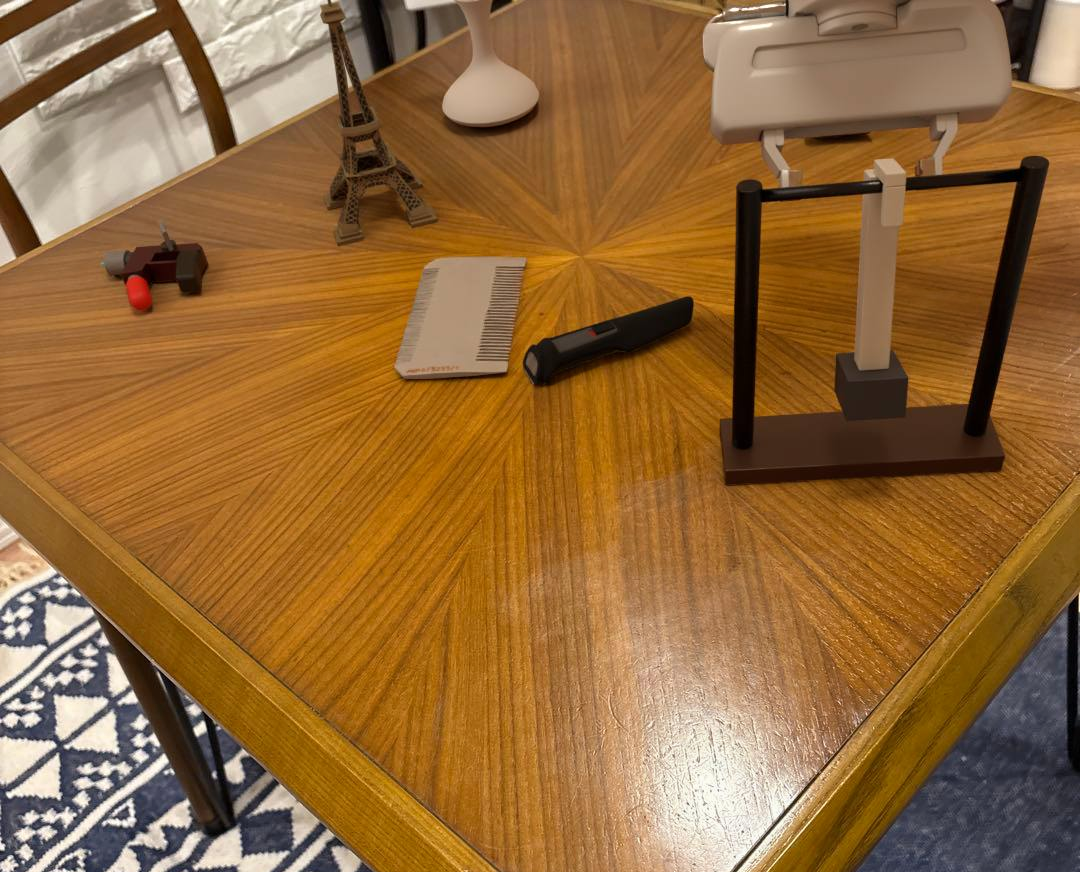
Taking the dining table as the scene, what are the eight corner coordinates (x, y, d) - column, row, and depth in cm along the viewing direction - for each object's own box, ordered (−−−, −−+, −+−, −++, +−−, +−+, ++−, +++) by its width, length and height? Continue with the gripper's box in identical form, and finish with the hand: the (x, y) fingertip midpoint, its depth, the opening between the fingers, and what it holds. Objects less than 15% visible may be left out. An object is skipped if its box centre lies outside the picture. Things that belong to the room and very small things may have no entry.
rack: (982, 417, 85) (1047, 135, 68) (1001, 470, 81) (1076, 184, 64) (719, 432, 87) (721, 163, 70) (725, 485, 83) (728, 212, 66)
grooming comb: (507, 376, 94) (506, 369, 94) (392, 381, 96) (390, 374, 95) (527, 259, 107) (526, 252, 106) (425, 264, 109) (424, 258, 108)
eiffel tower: (417, 175, 121) (366, -71, 103) (437, 221, 114) (386, -35, 96) (324, 198, 120) (256, -47, 102) (338, 245, 113) (267, -9, 95)
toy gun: (110, 265, 115) (91, 224, 112) (219, 258, 114) (204, 216, 110) (77, 320, 109) (56, 278, 105) (193, 313, 107) (175, 270, 104)
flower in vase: (550, 91, 132) (524, -145, 114) (528, 137, 125) (496, -108, 107) (447, 92, 135) (406, -138, 117) (419, 137, 128) (371, -101, 110)
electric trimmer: (702, 337, 96) (702, 306, 94) (536, 390, 93) (532, 360, 91) (682, 315, 98) (682, 285, 96) (521, 366, 96) (517, 336, 93)
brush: (834, 391, 80) (844, 152, 71) (890, 388, 79) (908, 147, 71) (849, 429, 74) (862, 175, 66) (909, 426, 74) (931, 170, 65)
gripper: (702, -12, 75) (712, 193, 75) (1015, -44, 73) (1024, 167, 73) (698, 28, 81) (708, 217, 81) (986, 0, 79) (995, 194, 79)
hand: (860, 193), depth 77 cm, fingers open, 8 cm apart
